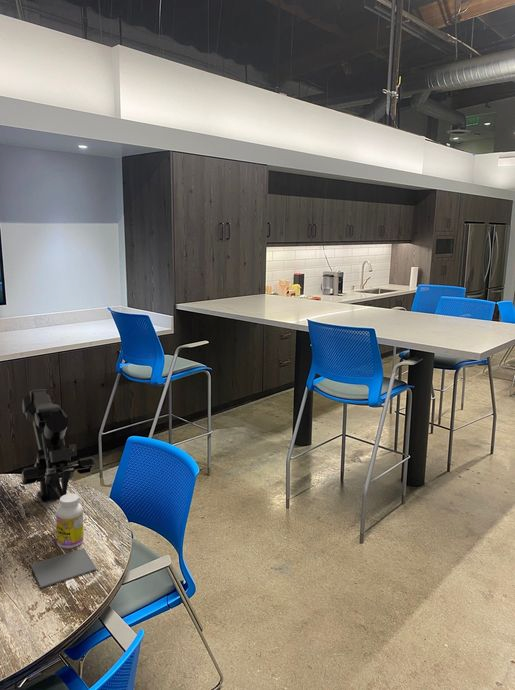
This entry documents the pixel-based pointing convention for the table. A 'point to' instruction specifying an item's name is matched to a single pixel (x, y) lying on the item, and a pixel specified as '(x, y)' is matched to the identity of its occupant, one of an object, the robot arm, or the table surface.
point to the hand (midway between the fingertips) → (63, 499)
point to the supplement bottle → (69, 521)
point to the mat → (62, 567)
